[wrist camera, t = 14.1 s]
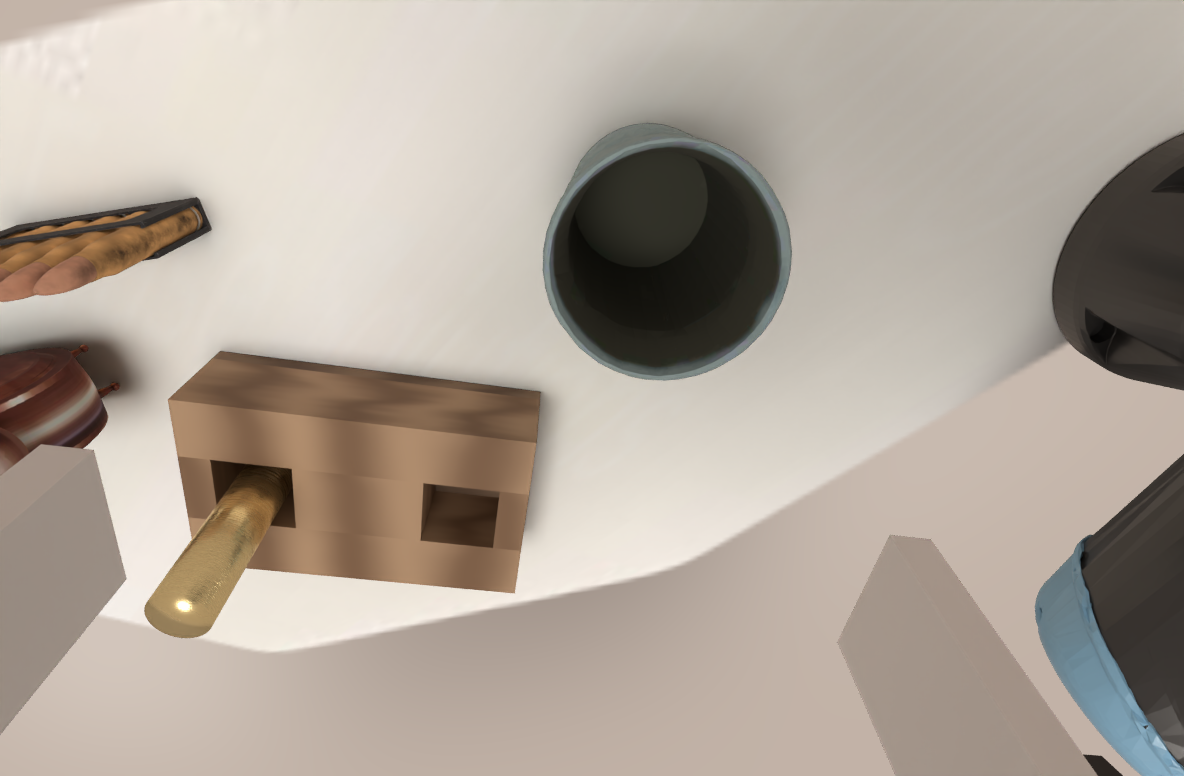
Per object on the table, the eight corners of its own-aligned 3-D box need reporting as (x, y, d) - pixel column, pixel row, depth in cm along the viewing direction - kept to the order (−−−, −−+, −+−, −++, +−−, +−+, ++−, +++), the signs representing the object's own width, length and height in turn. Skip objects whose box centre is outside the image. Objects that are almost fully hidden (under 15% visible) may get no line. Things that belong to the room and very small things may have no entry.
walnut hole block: (540, 391, 42) (536, 443, 37) (520, 531, 48) (514, 593, 43) (220, 351, 40) (167, 399, 35) (238, 502, 46) (196, 563, 41)
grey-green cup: (703, 298, 40) (751, 396, 29) (538, 273, 38) (527, 365, 28) (750, 123, 35) (829, 163, 24) (564, 88, 34) (562, 115, 23)
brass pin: (309, 430, 42) (208, 595, 30) (312, 468, 43) (216, 640, 31) (261, 425, 42) (139, 590, 30) (265, 463, 43) (150, 636, 31)
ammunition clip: (32, 257, 37) (-179, 347, 27) (14, 225, 36) (-212, 305, 26) (212, 230, 37) (70, 310, 26) (198, 197, 36) (45, 266, 25)
